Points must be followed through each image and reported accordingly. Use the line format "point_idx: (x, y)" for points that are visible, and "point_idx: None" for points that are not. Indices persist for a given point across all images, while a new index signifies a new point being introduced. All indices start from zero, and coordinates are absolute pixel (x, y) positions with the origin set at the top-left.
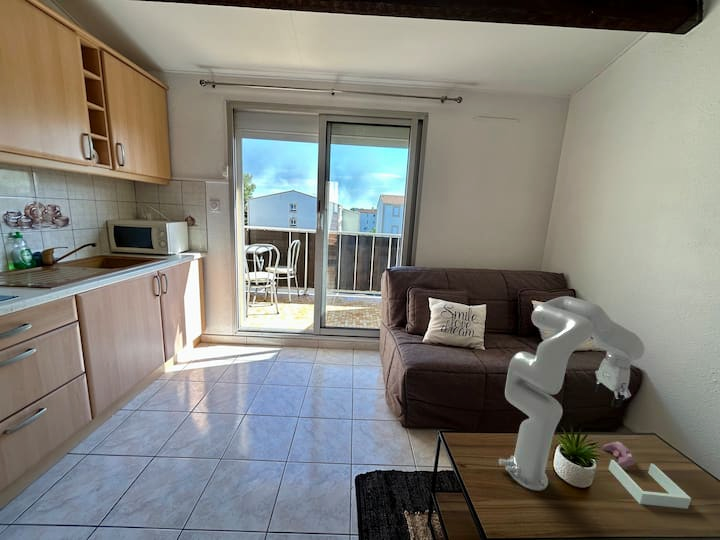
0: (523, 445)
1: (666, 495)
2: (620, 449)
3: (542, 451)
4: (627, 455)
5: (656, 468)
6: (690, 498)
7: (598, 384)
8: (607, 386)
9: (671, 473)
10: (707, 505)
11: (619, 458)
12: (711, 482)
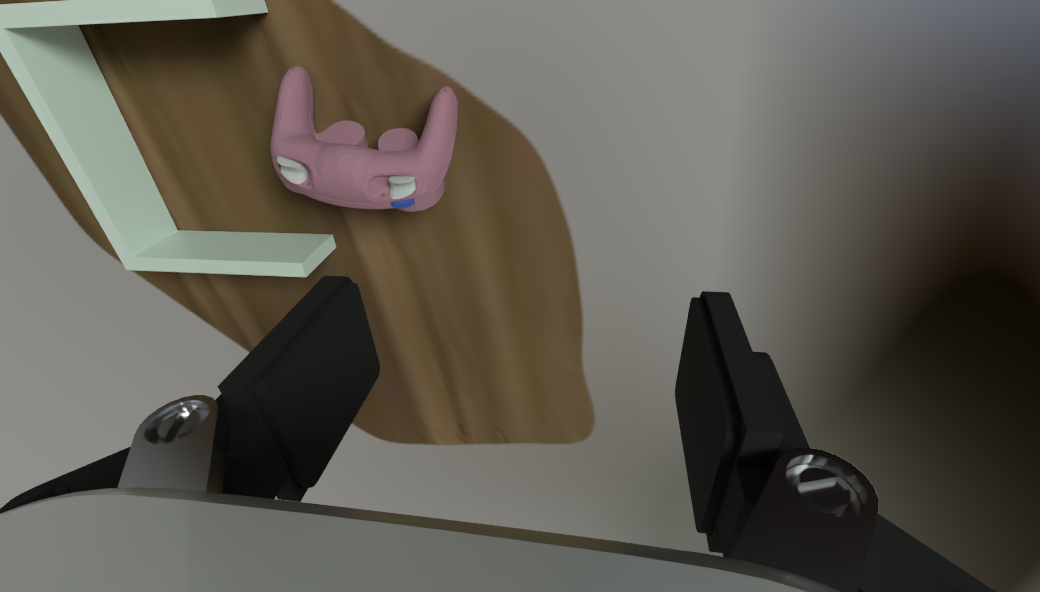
0: None
1: (65, 158)
2: (335, 149)
3: None
4: (287, 156)
5: (271, 264)
6: (124, 266)
7: (771, 450)
8: (230, 529)
9: (373, 340)
10: (237, 332)
11: (359, 133)
12: (376, 437)
